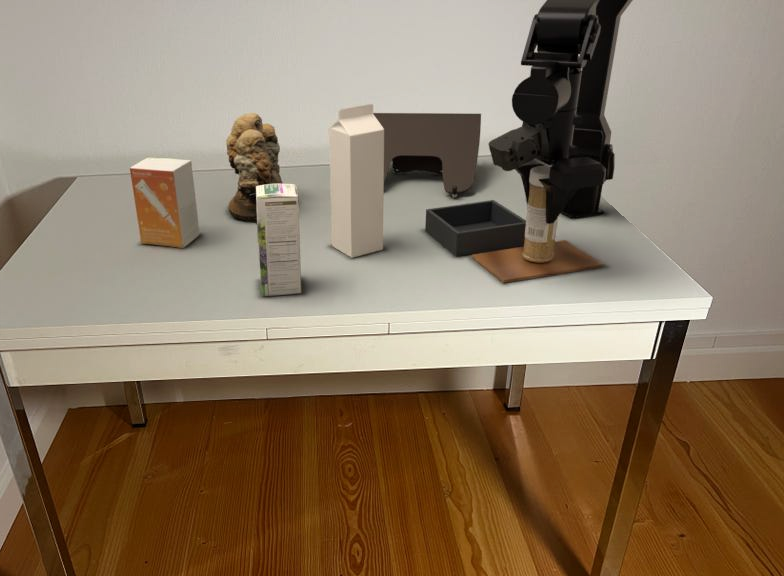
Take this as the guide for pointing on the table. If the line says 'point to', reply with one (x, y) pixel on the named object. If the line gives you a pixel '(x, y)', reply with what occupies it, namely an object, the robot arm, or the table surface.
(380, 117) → the laptop tray
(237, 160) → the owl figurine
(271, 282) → the syrup box
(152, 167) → the small box
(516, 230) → the bin
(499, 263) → the brown wooden board
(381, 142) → the milk
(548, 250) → the sprinkles bottle
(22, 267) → the table surface
